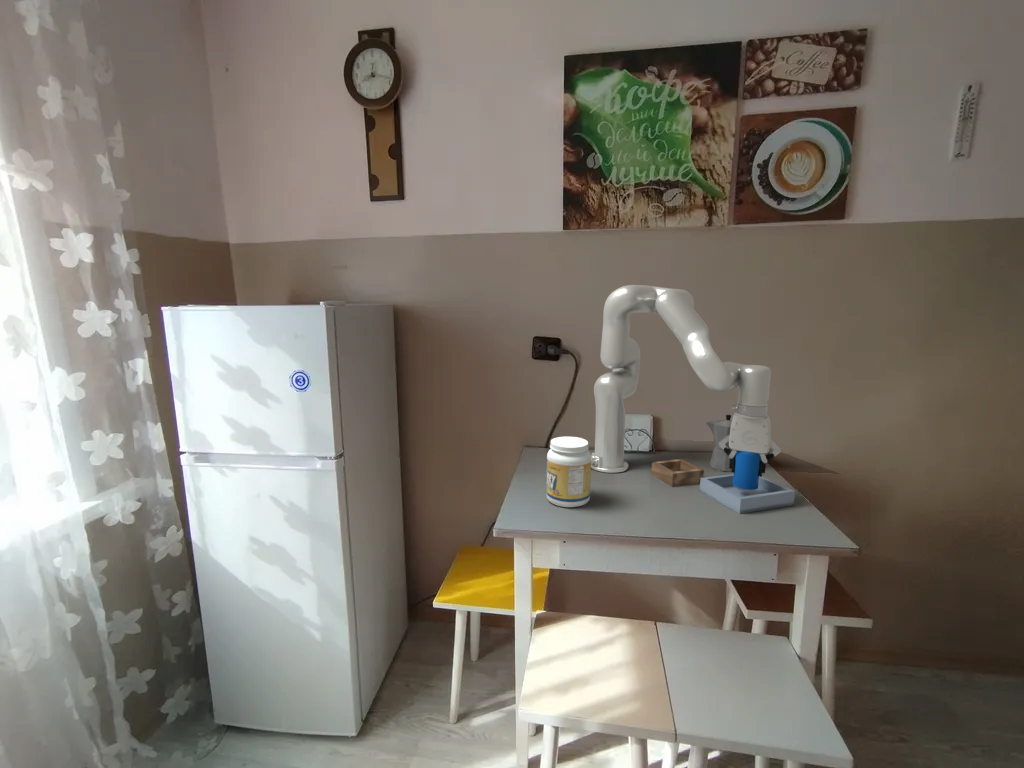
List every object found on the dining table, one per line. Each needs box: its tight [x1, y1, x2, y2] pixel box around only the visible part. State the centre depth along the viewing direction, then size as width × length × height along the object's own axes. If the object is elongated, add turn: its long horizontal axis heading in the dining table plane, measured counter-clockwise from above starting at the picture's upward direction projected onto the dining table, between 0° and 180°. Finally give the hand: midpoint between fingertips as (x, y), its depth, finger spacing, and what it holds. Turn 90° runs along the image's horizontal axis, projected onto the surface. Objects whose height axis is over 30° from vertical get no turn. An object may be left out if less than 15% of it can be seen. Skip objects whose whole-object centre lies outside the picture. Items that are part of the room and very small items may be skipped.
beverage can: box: [733, 451, 761, 492], centre depth 141 cm, size 6×6×12 cm
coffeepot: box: [705, 414, 732, 473], centre depth 165 cm, size 15×9×18 cm, turn 67°
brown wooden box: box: [651, 458, 705, 487], centre depth 157 cm, size 11×11×4 cm
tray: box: [699, 473, 796, 514], centre depth 142 cm, size 18×16×4 cm
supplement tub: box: [545, 436, 592, 508], centre depth 139 cm, size 12×12×17 cm
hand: (746, 472), depth 141 cm, fingers closed on beverage can, 6 cm apart
